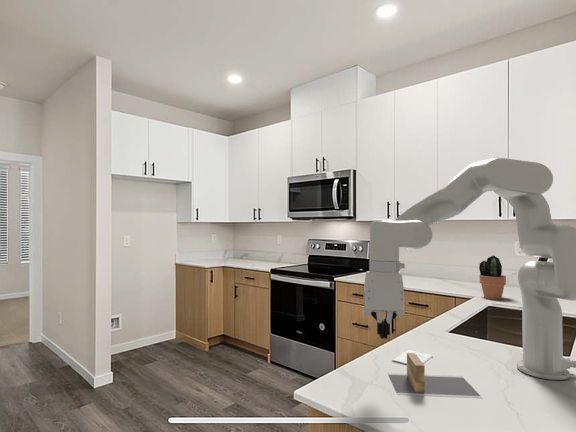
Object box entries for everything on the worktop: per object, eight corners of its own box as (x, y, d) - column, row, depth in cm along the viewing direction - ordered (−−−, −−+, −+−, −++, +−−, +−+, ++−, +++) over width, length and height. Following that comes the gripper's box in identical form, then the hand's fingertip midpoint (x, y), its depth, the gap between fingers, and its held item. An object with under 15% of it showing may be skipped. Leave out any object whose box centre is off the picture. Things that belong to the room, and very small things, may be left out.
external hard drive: (391, 365, 113) (407, 354, 122) (418, 372, 107) (433, 359, 117) (391, 359, 113) (407, 349, 122) (418, 366, 107) (433, 354, 117)
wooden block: (415, 377, 101) (415, 353, 101) (424, 392, 92) (424, 365, 92) (406, 376, 101) (406, 352, 101) (415, 391, 92) (415, 365, 92)
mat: (461, 378, 102) (461, 376, 102) (482, 400, 89) (482, 398, 89) (387, 375, 103) (387, 373, 103) (397, 396, 90) (397, 394, 90)
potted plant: (504, 297, 219) (504, 254, 220) (507, 301, 207) (507, 256, 208) (478, 295, 225) (478, 253, 226) (480, 299, 212) (480, 255, 213)
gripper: (409, 266, 101) (408, 334, 100) (354, 265, 102) (353, 332, 102) (416, 269, 93) (416, 343, 93) (356, 268, 95) (355, 340, 94)
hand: (383, 337), depth 97 cm, fingers closed
